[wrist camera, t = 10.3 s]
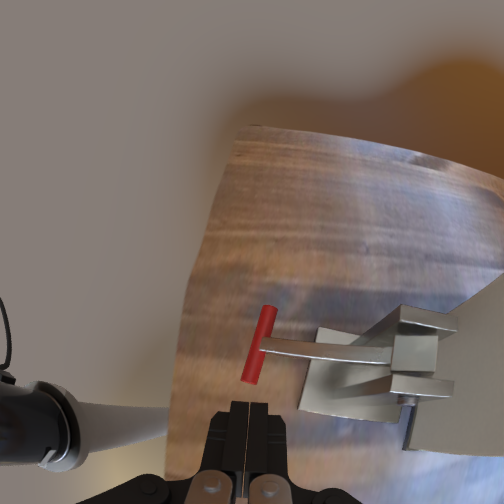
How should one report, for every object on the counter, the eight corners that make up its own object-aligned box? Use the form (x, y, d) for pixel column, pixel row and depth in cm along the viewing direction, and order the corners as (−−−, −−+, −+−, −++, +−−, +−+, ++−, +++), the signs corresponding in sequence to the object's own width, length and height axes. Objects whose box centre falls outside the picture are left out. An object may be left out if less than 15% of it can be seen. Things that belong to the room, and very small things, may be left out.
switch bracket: (296, 409, 23) (333, 413, 12) (316, 328, 27) (359, 269, 16) (393, 423, 21) (480, 421, 10) (406, 347, 25) (486, 301, 14)
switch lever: (249, 384, 20) (232, 377, 19) (270, 313, 23) (256, 300, 21) (427, 407, 13) (430, 404, 11) (436, 319, 16) (439, 305, 14)
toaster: (401, 450, 20) (501, 462, 7) (421, 324, 26) (508, 261, 14) (462, 447, 19) (559, 443, 6) (476, 334, 25) (560, 283, 13)
